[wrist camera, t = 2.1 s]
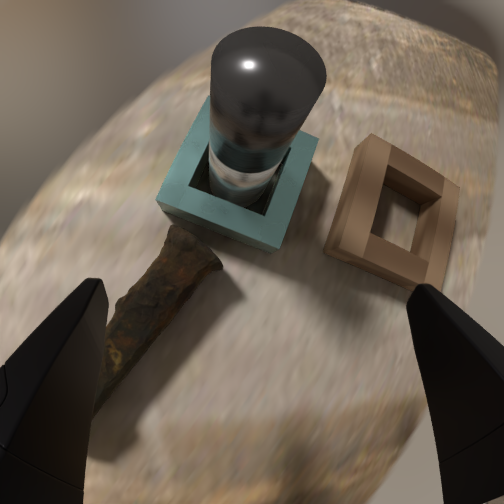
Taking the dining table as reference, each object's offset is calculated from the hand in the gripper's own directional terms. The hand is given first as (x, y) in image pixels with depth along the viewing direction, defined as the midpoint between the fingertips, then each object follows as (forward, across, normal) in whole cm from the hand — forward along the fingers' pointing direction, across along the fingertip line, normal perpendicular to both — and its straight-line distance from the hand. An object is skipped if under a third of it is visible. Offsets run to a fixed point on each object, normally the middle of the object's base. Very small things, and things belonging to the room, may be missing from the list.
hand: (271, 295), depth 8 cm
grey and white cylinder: (+15, 0, +4) cm, 15 cm away
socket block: (+15, 0, +4) cm, 15 cm away
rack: (+13, -12, +6) cm, 19 cm away
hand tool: (+6, +8, +13) cm, 16 cm away
